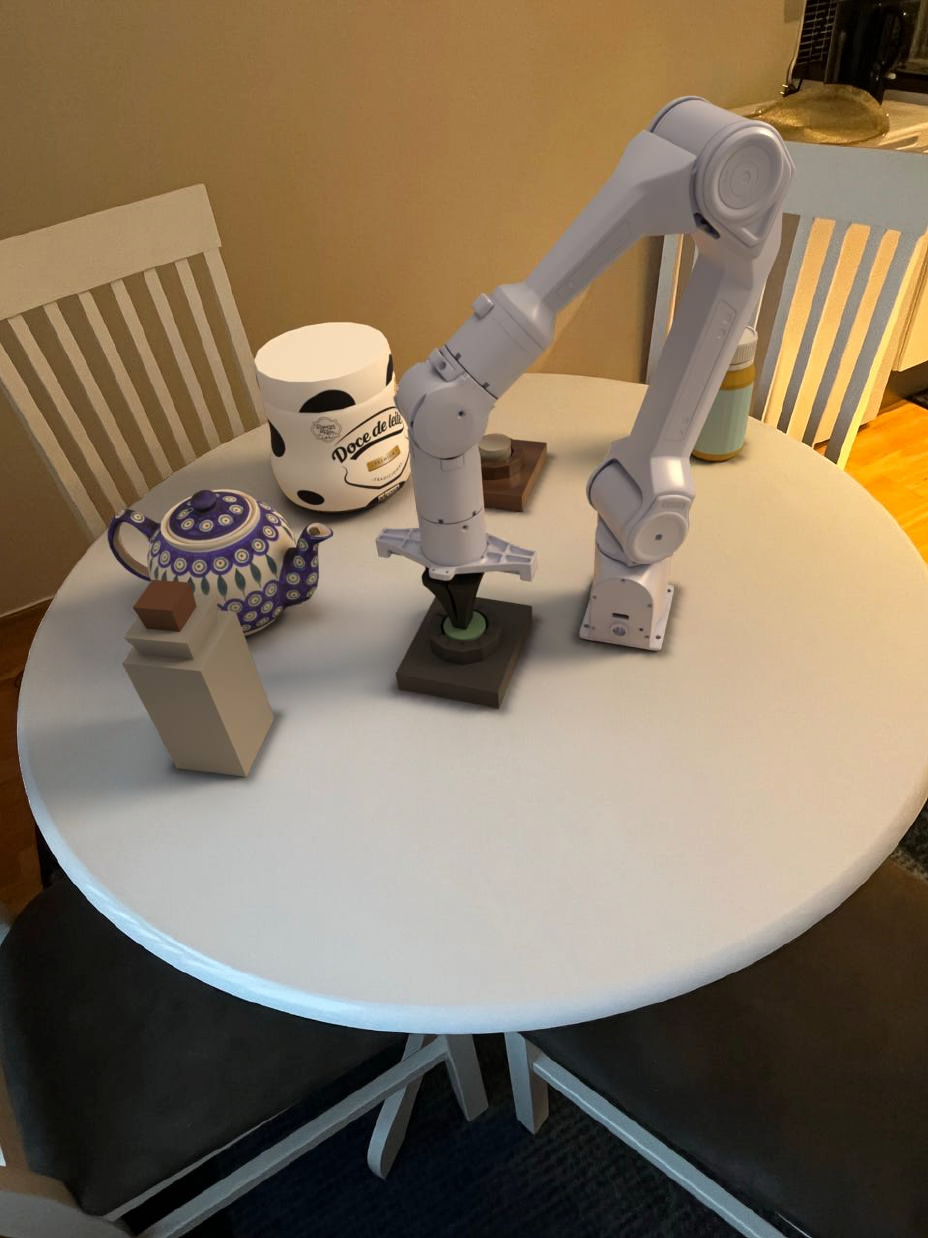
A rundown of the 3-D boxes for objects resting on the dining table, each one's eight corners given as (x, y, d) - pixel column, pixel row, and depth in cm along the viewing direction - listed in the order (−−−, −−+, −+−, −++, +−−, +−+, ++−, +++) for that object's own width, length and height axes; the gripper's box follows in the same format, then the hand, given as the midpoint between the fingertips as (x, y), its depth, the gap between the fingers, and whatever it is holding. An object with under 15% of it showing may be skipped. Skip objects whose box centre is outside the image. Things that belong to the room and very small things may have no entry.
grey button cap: (506, 464, 99) (505, 452, 98) (474, 461, 100) (473, 448, 99) (515, 447, 102) (514, 434, 101) (484, 444, 103) (483, 431, 102)
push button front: (499, 708, 76) (496, 679, 73) (398, 689, 79) (392, 659, 76) (532, 621, 84) (531, 591, 82) (440, 606, 87) (436, 577, 84)
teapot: (103, 641, 87) (44, 528, 77) (173, 553, 98) (128, 443, 88) (324, 671, 81) (290, 552, 71) (373, 573, 92) (349, 458, 82)
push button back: (522, 511, 98) (521, 483, 95) (442, 501, 101) (439, 473, 98) (547, 457, 106) (546, 429, 104) (472, 449, 109) (470, 422, 106)
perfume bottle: (246, 777, 73) (182, 628, 61) (176, 768, 74) (100, 621, 62) (274, 718, 78) (220, 569, 65) (208, 710, 79) (143, 563, 67)
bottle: (748, 461, 102) (768, 344, 92) (690, 464, 102) (704, 349, 92) (735, 432, 107) (753, 318, 97) (680, 435, 108) (693, 322, 97)
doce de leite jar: (404, 526, 98) (382, 385, 86) (264, 526, 100) (222, 388, 88) (426, 448, 110) (409, 315, 98) (300, 449, 113) (268, 319, 101)
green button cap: (479, 655, 78) (478, 642, 77) (439, 648, 79) (437, 634, 78) (491, 626, 81) (490, 613, 80) (452, 620, 82) (451, 607, 81)
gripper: (352, 519, 69) (376, 636, 79) (518, 545, 65) (524, 665, 74) (385, 473, 74) (405, 588, 83) (543, 494, 70) (545, 613, 79)
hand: (463, 621), depth 79 cm, fingers closed, pressing on green button cap
